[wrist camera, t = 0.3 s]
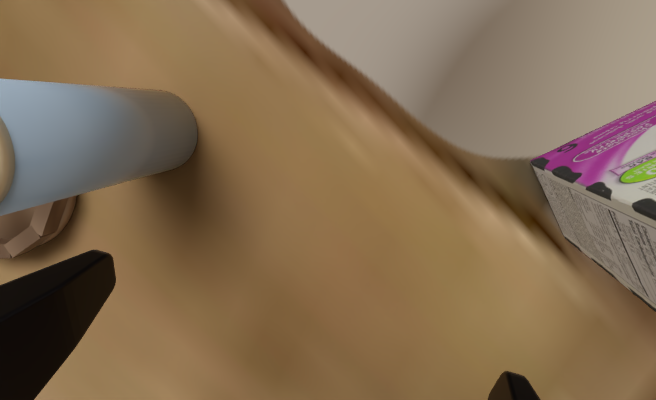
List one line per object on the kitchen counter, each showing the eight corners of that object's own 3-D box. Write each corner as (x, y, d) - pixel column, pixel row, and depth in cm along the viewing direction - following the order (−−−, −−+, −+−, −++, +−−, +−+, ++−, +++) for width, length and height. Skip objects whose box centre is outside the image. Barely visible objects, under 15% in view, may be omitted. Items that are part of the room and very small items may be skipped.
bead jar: (153, 184, 26) (-65, 252, 14) (109, 118, 26) (-156, 128, 13) (212, 143, 25) (32, 178, 13) (167, 74, 24) (-65, 40, 12)
